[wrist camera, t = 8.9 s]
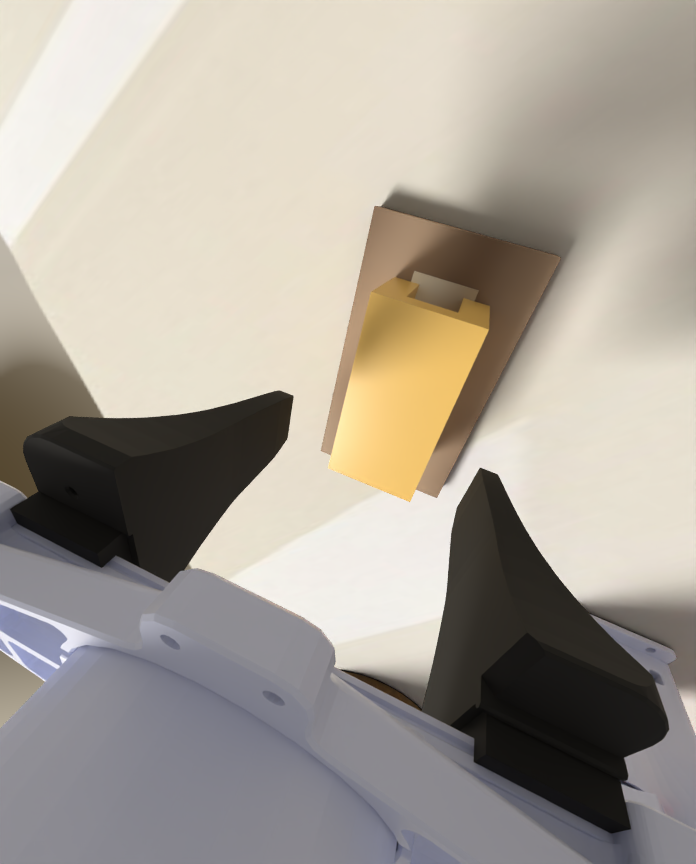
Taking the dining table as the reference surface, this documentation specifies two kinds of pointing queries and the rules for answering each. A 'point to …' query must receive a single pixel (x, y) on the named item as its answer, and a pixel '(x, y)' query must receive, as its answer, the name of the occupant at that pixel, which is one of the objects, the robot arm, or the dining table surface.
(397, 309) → the block
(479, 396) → the pin plate
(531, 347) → the dining table surface
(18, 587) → the robot arm
